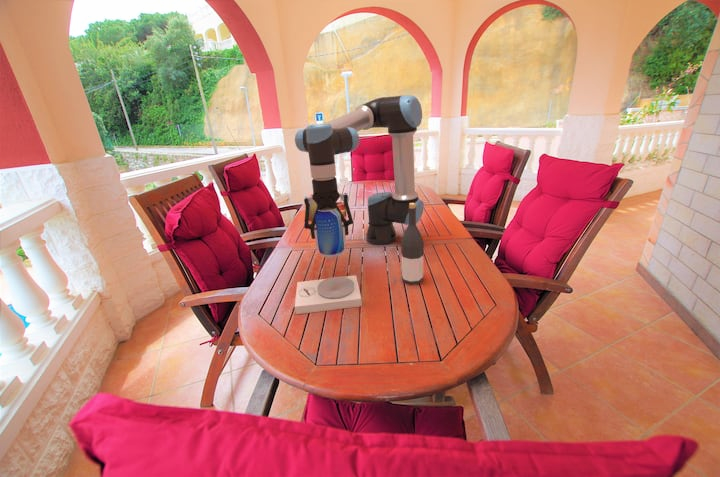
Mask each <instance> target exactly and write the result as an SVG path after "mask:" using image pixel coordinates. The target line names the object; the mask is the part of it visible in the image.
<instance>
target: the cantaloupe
mask: <svg viewBox="0 0 720 477" xmlns="http://www.w3.org/2000/svg"><path fill="white" fill-rule="evenodd" d="M311 196H313V194H311V195H310V197H311ZM317 205H318V204H317V203H316V202H315V201H314V200H312V203H311V204H310V209H309V218H311V219H313V217H314V214H315V211H316V208H317Z"/></svg>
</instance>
